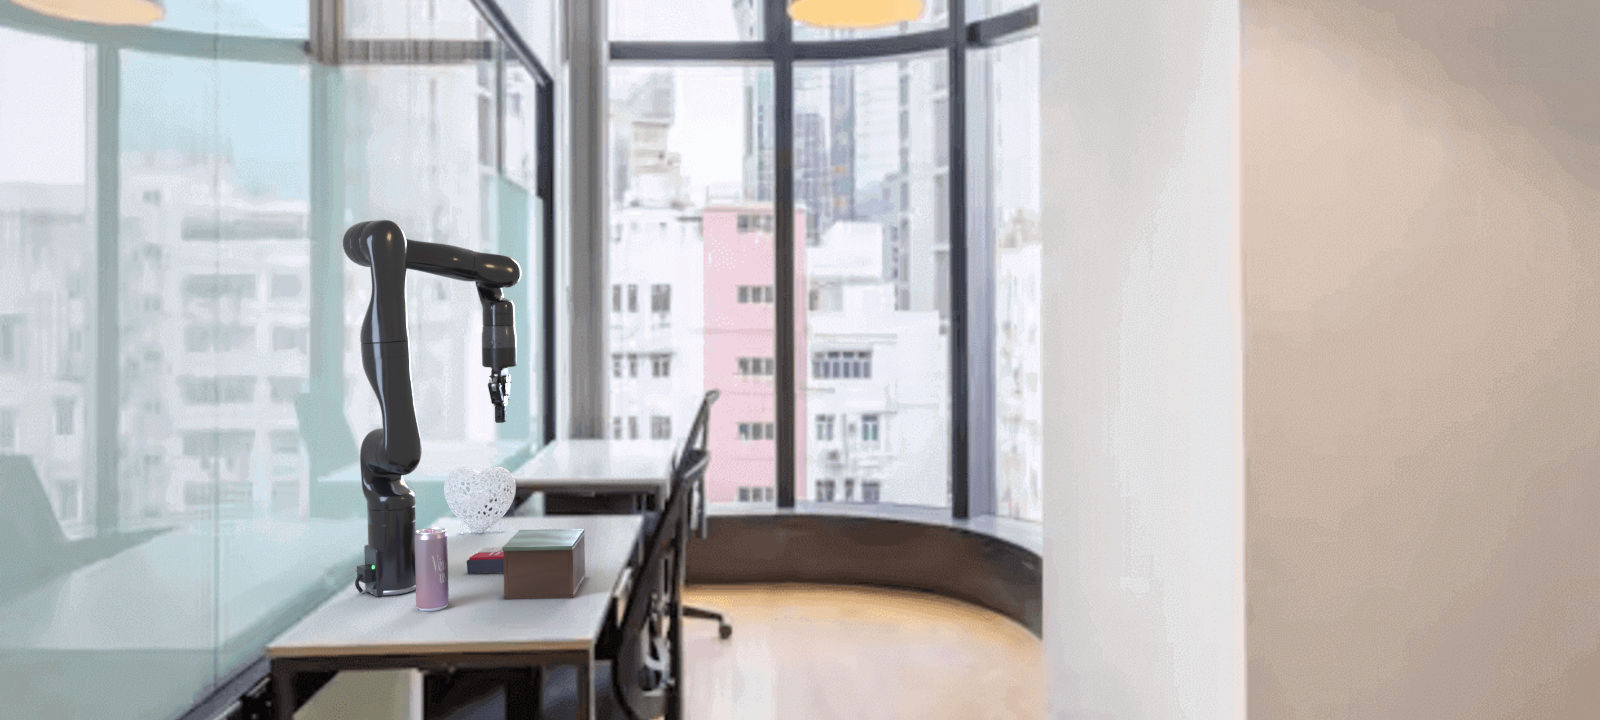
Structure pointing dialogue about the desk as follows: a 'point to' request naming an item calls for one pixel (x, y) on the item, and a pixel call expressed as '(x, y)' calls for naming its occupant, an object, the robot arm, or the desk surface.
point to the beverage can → (431, 569)
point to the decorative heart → (479, 496)
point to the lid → (544, 540)
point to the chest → (544, 572)
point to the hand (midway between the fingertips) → (500, 422)
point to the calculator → (486, 561)
